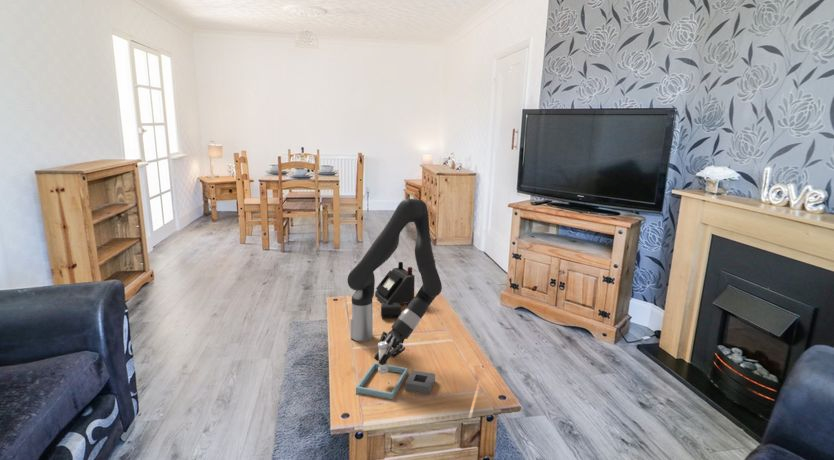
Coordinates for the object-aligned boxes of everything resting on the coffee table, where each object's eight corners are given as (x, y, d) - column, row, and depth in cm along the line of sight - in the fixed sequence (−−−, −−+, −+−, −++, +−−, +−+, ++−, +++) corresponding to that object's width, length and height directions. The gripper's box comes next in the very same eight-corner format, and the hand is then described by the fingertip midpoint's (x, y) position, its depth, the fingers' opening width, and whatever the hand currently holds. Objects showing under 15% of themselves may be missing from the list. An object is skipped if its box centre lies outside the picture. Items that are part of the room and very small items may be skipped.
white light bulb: (376, 372, 165) (376, 345, 162) (380, 367, 168) (379, 340, 165) (386, 374, 164) (385, 346, 161) (389, 369, 167) (389, 342, 164)
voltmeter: (374, 298, 249) (374, 264, 244) (400, 294, 257) (400, 260, 252) (387, 309, 235) (387, 273, 231) (414, 303, 243) (414, 268, 239)
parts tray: (355, 394, 161) (355, 387, 160) (374, 369, 177) (374, 362, 177) (392, 401, 157) (392, 394, 156) (407, 375, 174) (407, 368, 173)
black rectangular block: (381, 320, 222) (381, 307, 220) (380, 314, 229) (380, 302, 227) (401, 319, 223) (401, 306, 222) (399, 313, 230) (400, 301, 229)
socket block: (405, 392, 162) (405, 382, 161) (412, 379, 171) (412, 370, 170) (428, 397, 160) (429, 387, 159) (434, 383, 168) (435, 374, 167)
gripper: (390, 311, 171) (362, 349, 167) (410, 325, 160) (381, 365, 156) (402, 321, 175) (375, 358, 171) (422, 335, 164) (394, 374, 160)
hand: (378, 361), depth 164 cm, fingers closed on white light bulb, 3 cm apart
